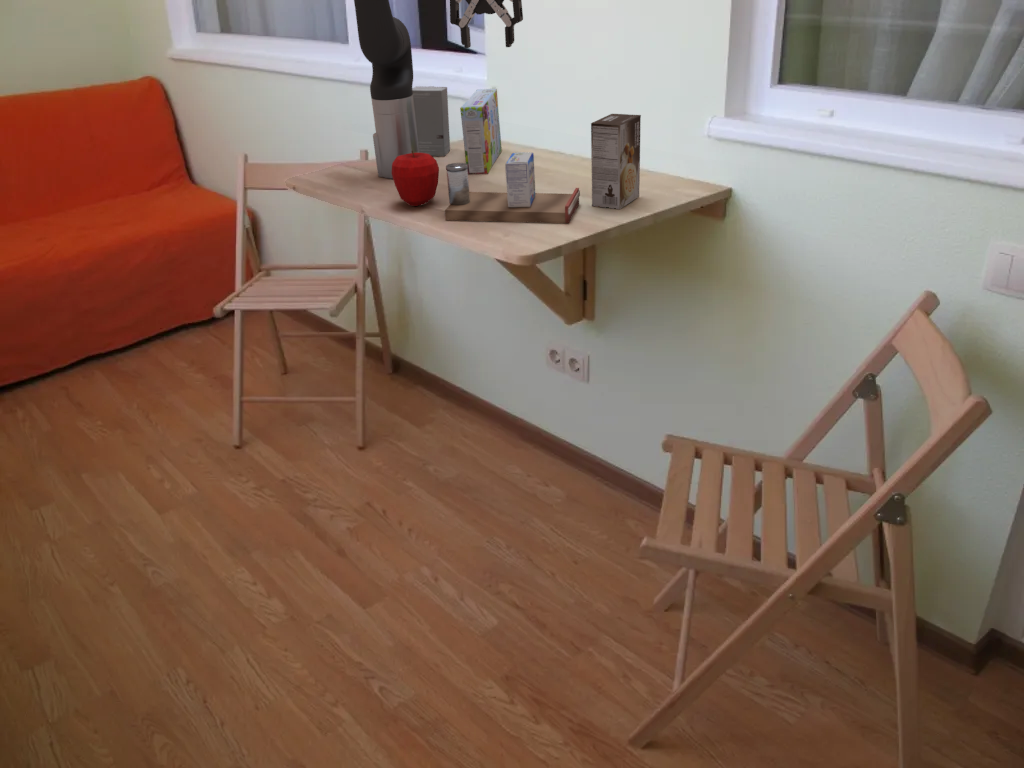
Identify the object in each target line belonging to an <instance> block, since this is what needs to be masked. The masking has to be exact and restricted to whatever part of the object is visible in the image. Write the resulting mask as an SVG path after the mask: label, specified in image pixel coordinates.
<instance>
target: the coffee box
mask: <svg viewBox="0 0 1024 768" xmlns="http://www.w3.org/2000/svg"><path fill="white" fill-rule="evenodd" d="M641 116H642V115H641V114H629V113H628V114H626V113H610V114H608V115H606V116H604V117H602V118H600V119H598V120H596V121H593V122H591V123H590V136H591V137H590V139H591V141H590V142H591V143H590V145H591V148H590V151H591V152H590V153H591V154H590V155H591V160H590V161H591V206H592V207H598V206H600V207H599V208H606V207H609V208H608V209H614V208H616V209H615V210H622V208H624V207H626V206H627V205H628V204H630V203H631V202H633V201H634V200H636V199H637V198H639V197H640V181H641V180H640V179H641V178H640V176H641V175H640V174H641V172H640V171H641V169H640V168H641V167H640V166H641V165H640V164H641Z"/></svg>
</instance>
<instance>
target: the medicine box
mask: <svg viewBox="0 0 1024 768" xmlns="http://www.w3.org/2000/svg"><path fill="white" fill-rule="evenodd" d="M535 176H536V175H535V158H534V152H531V151H530V152H528V151H527V152H526V151H520V152H518V151H517V152H512V153H511V155H509V158H508V160H507V161H506V162H505V181H506V182H505V183H506V193H507V199H508V207H512V208H522V207H529V208H530V206H531V204H532V202H533V199H534V197H535V193H536V180H535V178H536V177H535Z"/></svg>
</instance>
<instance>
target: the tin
mask: <svg viewBox="0 0 1024 768" xmlns="http://www.w3.org/2000/svg"><path fill="white" fill-rule="evenodd" d="M467 169H468V165H467V164H466V162H452V163H448V164H447V165H445V171H446V179H447V188H448V201H449V205H450V204H451V205H465V204H468V203H470V196H469V192H470V185H469V174H468V171H467Z"/></svg>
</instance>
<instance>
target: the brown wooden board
mask: <svg viewBox="0 0 1024 768" xmlns="http://www.w3.org/2000/svg"><path fill="white" fill-rule="evenodd" d="M469 196H470V203H468V204H465V205H451V204H450V203H449V205H448V206H447V207H446V208H445V209H444V215H445V221H461V220H468V221H467V222H469V221H470V222H502V223H503V222H504V223H505V222H507V223H539V224H540V223H541V224H542V223H544V224H546V223H547V224H569V223H570V221H571V219H572V218H573V215H575V212H576V210H577V209H578V207H579V205H580V196H581V190H580V187H575V189H574V190H573V192H572V193H557V192H556V193H555V192H553V193H551V192H550V193H548V192H545V193H543V192H542V193H541V192H535V197H534V199H533V202H532V204H531V206H530V208H529V207H522V208H512V207H508V199H507V192H497V191H496V192H495V191H494V192H492V191H491V192H490V191H489V192H487V191H486V192H484V191H469ZM472 220H473V221H472Z"/></svg>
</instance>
